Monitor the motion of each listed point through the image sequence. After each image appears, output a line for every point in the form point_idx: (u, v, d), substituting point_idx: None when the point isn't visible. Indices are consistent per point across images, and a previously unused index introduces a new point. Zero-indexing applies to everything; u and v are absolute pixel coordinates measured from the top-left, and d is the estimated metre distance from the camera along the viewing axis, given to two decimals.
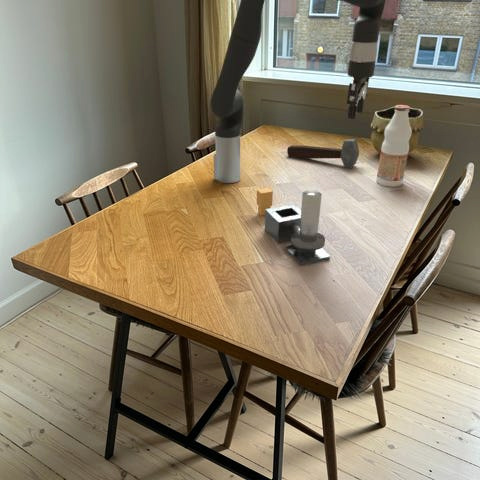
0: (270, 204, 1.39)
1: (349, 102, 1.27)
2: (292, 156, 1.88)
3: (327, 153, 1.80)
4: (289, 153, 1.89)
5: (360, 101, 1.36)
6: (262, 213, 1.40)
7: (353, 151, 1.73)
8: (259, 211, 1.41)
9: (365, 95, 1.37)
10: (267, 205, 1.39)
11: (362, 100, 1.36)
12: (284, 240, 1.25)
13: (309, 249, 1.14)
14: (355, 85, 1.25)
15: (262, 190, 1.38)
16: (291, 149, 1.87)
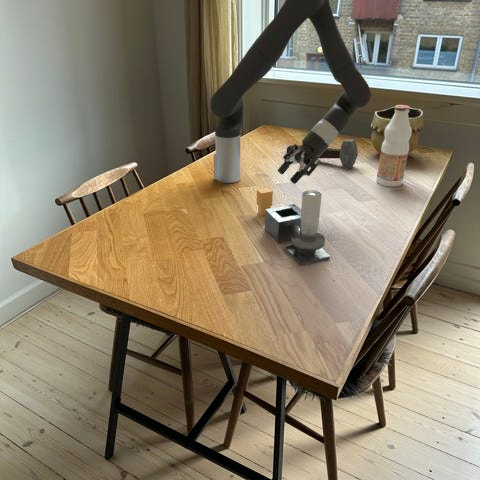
0: (270, 204, 1.39)
1: (306, 171, 1.32)
2: None
3: (326, 154, 1.80)
4: None
5: (287, 165, 1.42)
6: (262, 213, 1.40)
7: (351, 152, 1.73)
8: (259, 211, 1.41)
9: None
10: (267, 205, 1.39)
11: (288, 165, 1.42)
12: (284, 240, 1.25)
13: (309, 249, 1.14)
14: (319, 161, 1.33)
15: (262, 190, 1.38)
16: None
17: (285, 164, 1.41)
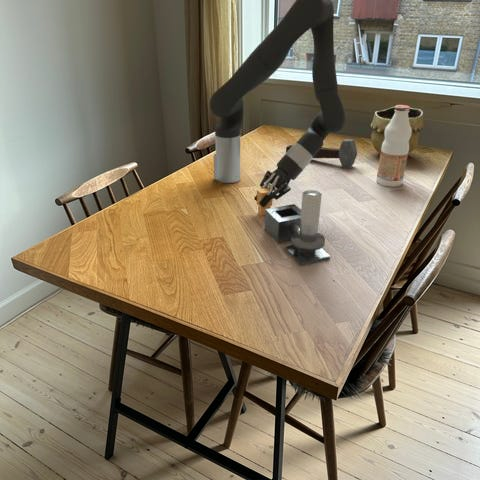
0: (270, 204, 1.39)
1: (274, 195, 1.35)
2: None
3: (325, 153, 1.80)
4: None
5: None
6: (262, 213, 1.40)
7: (350, 152, 1.73)
8: (259, 211, 1.41)
9: None
10: (267, 205, 1.39)
11: None
12: (284, 240, 1.25)
13: (309, 249, 1.14)
14: (288, 189, 1.33)
15: (262, 190, 1.38)
16: None
17: None
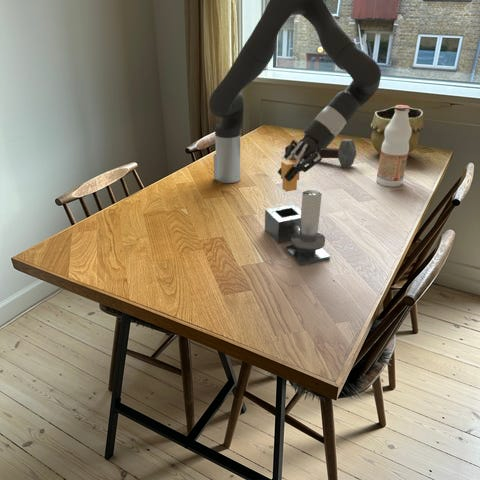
0: (297, 178, 1.20)
1: (303, 166, 1.16)
2: None
3: (325, 153, 1.80)
4: None
5: None
6: (287, 189, 1.21)
7: (350, 151, 1.73)
8: (284, 187, 1.22)
9: None
10: (293, 179, 1.20)
11: None
12: (284, 240, 1.25)
13: (309, 249, 1.14)
14: (319, 159, 1.14)
15: (288, 162, 1.19)
16: None
17: None
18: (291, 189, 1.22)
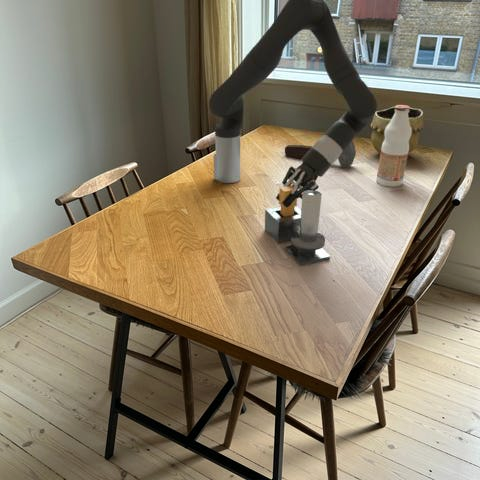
0: (294, 204, 1.24)
1: (300, 194, 1.19)
2: (289, 155, 1.89)
3: None
4: (286, 153, 1.89)
5: None
6: (285, 214, 1.25)
7: (349, 151, 1.73)
8: (282, 212, 1.26)
9: None
10: (291, 205, 1.24)
11: None
12: (284, 240, 1.25)
13: (309, 249, 1.14)
14: (316, 187, 1.18)
15: (286, 188, 1.23)
16: (288, 148, 1.88)
17: None
18: (289, 214, 1.26)
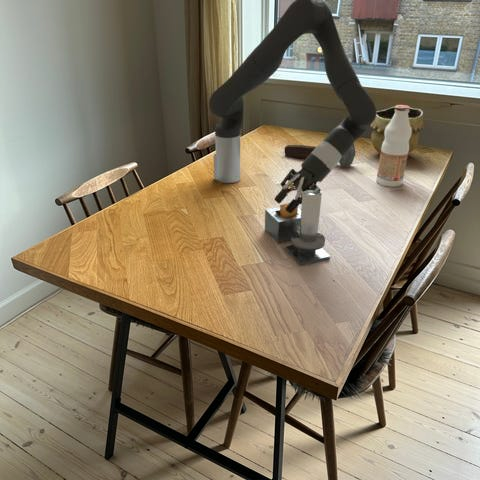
0: None
1: None
2: (289, 155, 1.89)
3: None
4: (286, 153, 1.89)
5: (285, 193, 1.27)
6: None
7: (349, 151, 1.73)
8: None
9: None
10: None
11: (286, 193, 1.27)
12: (284, 240, 1.25)
13: (309, 249, 1.14)
14: (318, 190, 1.19)
15: (286, 206, 1.26)
16: (288, 148, 1.88)
17: (283, 192, 1.27)
18: None
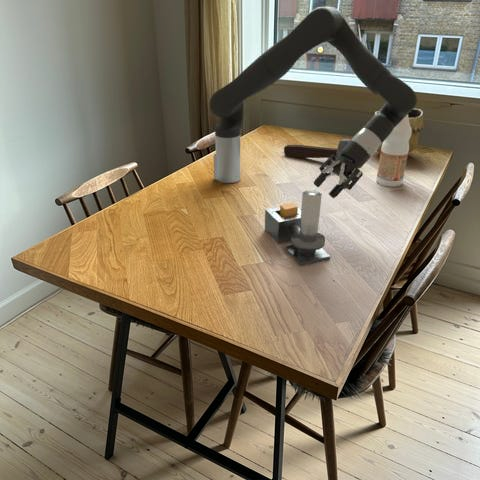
0: None
1: (348, 185, 1.22)
2: (289, 155, 1.89)
3: (323, 153, 1.80)
4: (286, 152, 1.89)
5: (324, 177, 1.31)
6: None
7: None
8: None
9: None
10: None
11: (325, 177, 1.31)
12: (284, 240, 1.25)
13: (309, 249, 1.14)
14: (361, 173, 1.22)
15: (286, 206, 1.26)
16: (288, 148, 1.88)
17: (322, 176, 1.31)
18: None
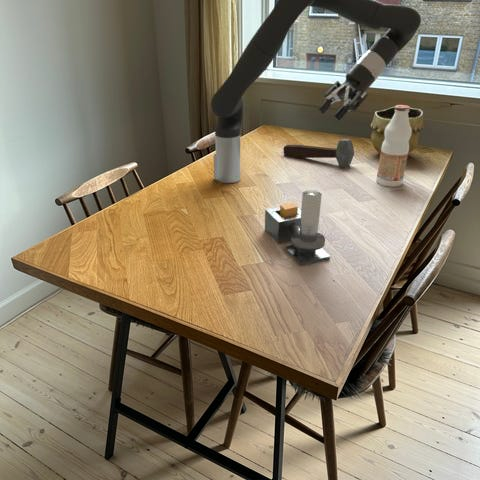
0: None
1: (353, 105, 1.23)
2: (288, 155, 1.89)
3: (323, 153, 1.81)
4: (285, 152, 1.90)
5: (328, 103, 1.32)
6: None
7: (347, 151, 1.73)
8: None
9: None
10: None
11: (330, 103, 1.33)
12: (284, 240, 1.25)
13: (309, 249, 1.14)
14: (366, 94, 1.23)
15: (286, 206, 1.26)
16: (287, 148, 1.88)
17: (327, 102, 1.32)
18: None
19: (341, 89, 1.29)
